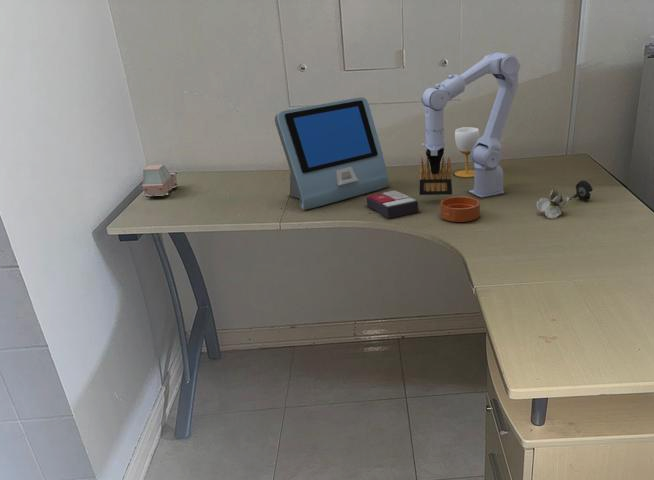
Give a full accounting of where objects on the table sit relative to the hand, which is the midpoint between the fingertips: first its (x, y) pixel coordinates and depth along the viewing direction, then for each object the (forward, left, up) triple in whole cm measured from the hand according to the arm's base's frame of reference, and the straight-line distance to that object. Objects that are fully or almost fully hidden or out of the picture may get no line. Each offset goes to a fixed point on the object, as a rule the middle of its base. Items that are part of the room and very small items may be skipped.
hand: (435, 172), depth 206 cm
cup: (-26, -22, -10) cm, 35 cm away
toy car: (+78, -61, -10) cm, 99 cm away
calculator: (+15, -1, -10) cm, 18 cm away
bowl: (0, +16, -10) cm, 19 cm away
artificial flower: (-32, +28, -10) cm, 43 cm away
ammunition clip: (0, 0, -7) cm, 7 cm away
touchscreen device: (+25, -26, -10) cm, 38 cm away
